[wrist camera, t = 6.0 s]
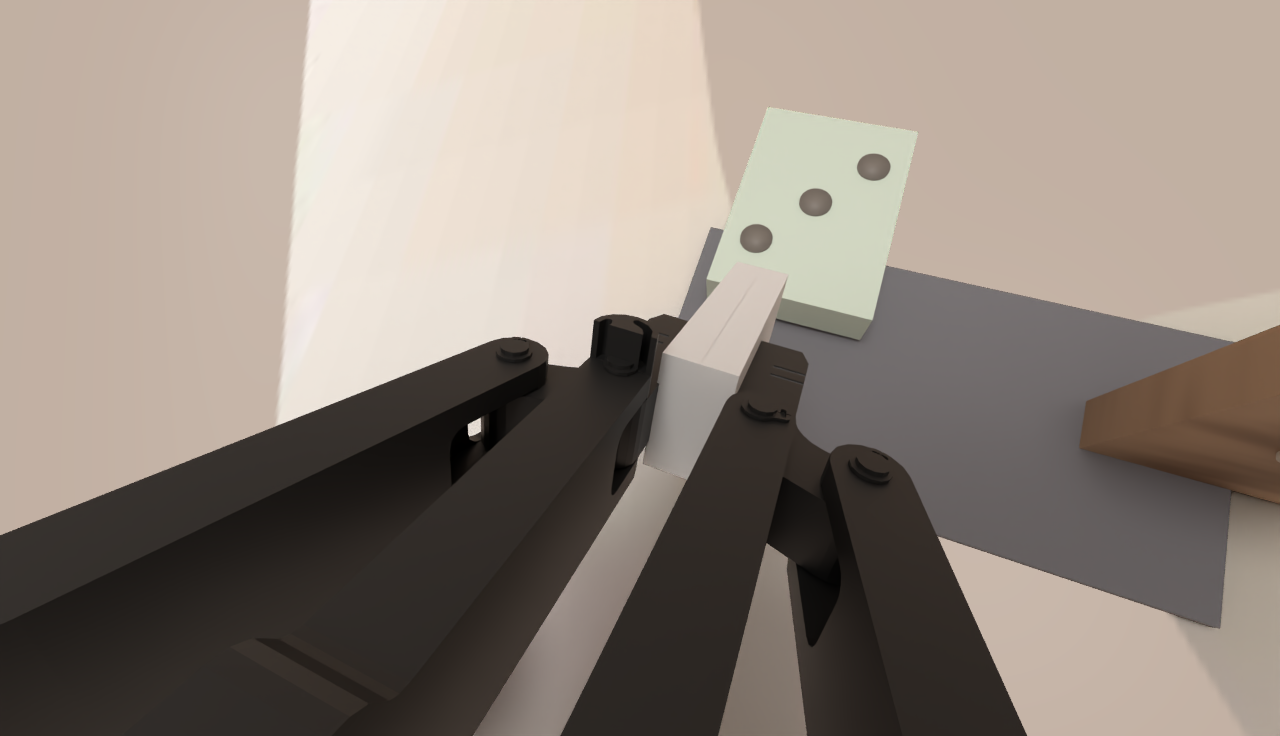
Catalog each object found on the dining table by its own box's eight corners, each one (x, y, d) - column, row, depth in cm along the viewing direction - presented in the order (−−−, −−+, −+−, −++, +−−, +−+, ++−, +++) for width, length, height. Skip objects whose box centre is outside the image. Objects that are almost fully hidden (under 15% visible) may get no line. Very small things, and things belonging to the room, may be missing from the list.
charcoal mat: (1234, 347, 22) (1243, 344, 21) (1210, 626, 19) (1220, 628, 19) (711, 231, 27) (710, 227, 27) (638, 436, 25) (636, 435, 24)
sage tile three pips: (858, 341, 24) (902, 164, 27) (873, 318, 22) (919, 129, 25) (706, 302, 25) (764, 139, 28) (706, 277, 23) (768, 104, 26)
